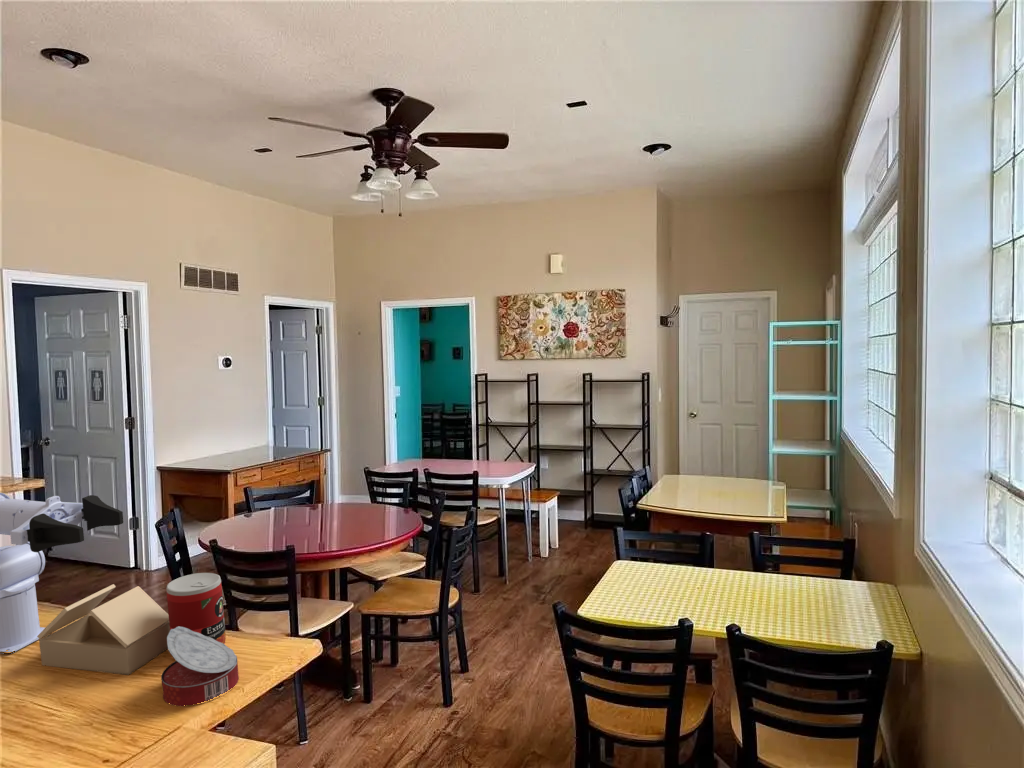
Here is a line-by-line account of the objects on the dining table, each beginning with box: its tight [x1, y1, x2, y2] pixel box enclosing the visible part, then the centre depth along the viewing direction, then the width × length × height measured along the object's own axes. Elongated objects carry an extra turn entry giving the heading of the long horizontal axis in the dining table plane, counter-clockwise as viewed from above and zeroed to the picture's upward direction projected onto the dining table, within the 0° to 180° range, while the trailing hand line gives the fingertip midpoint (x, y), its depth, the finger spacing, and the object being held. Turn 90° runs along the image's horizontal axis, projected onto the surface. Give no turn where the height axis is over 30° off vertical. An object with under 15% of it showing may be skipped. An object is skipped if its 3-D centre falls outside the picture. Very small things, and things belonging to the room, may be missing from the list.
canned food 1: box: [165, 572, 227, 645], centre depth 105 cm, size 8×8×11 cm
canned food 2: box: [160, 626, 240, 707], centre depth 95 cm, size 11×10×10 cm
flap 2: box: [89, 585, 169, 648], centre depth 103 cm, size 8×9×1 cm
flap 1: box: [37, 583, 116, 640], centre depth 105 cm, size 8×9×1 cm
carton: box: [38, 613, 170, 676], centre depth 104 cm, size 16×9×4 cm, turn 76°
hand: (102, 526), depth 104 cm, fingers open, 7 cm apart
